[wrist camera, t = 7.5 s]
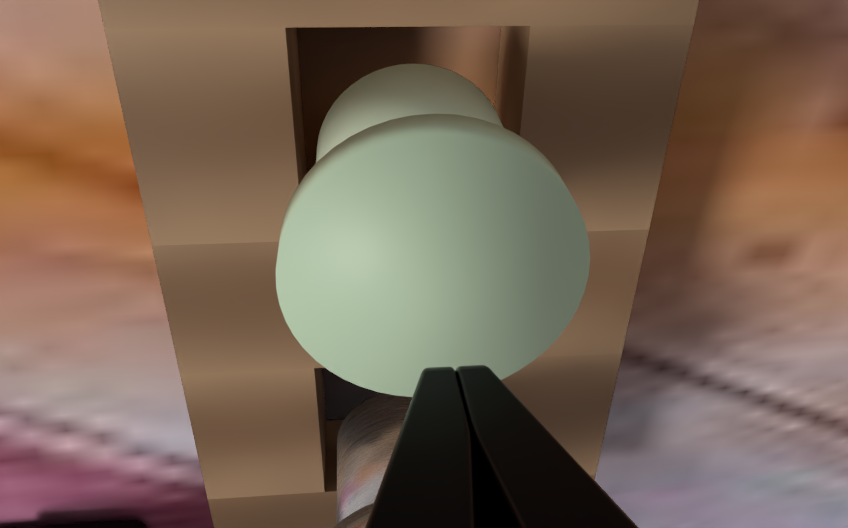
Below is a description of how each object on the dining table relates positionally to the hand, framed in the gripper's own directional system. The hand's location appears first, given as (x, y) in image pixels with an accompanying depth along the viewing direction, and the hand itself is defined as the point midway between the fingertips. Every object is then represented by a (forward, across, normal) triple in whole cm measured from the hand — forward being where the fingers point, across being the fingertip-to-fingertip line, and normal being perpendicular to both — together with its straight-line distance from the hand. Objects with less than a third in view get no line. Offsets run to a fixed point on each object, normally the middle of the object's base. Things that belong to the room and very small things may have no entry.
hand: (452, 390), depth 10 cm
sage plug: (+7, 0, 0) cm, 7 cm away
